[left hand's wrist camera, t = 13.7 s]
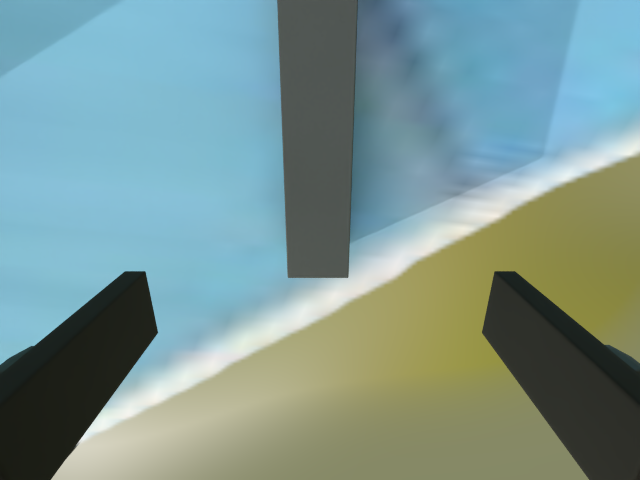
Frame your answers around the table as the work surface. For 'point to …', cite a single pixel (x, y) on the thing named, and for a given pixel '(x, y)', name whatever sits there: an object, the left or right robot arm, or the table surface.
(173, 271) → the table surface
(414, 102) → the table surface
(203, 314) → the table surface
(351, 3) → the bar
